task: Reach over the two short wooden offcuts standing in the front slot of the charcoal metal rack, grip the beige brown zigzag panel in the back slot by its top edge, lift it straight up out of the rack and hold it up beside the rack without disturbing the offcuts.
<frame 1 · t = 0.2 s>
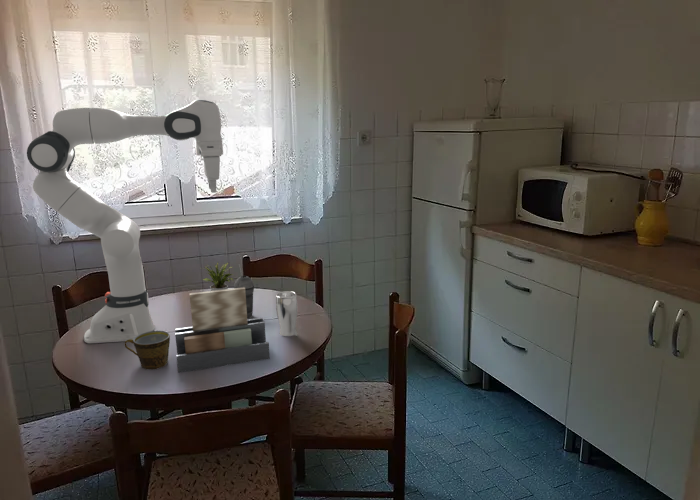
hand: (212, 190, 179), 47 cm above the table, tool pointing down, fingers open, 8 cm apart
sage offcut: (237, 356, 157), point 1 cm above the table, touching offcut rack
beige brown zigzag panel: (222, 353, 159), point 1 cm above the table, touching offcut rack
house plant: (217, 301, 210), on the table
beverage cup: (246, 317, 193), on the table
walnut offcut: (206, 364, 152), point 1 cm above the table, touching offcut rack
ceramic cup: (150, 369, 153), on the table
silver metal cylinder: (288, 337, 174), on the table
offcut rack: (223, 360, 158), on the table
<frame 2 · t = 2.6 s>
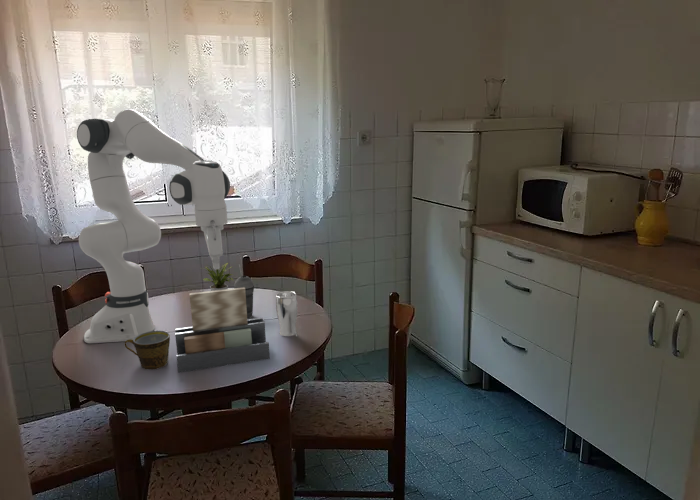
hand: (215, 264, 152), 30 cm above the table, tool pointing down, fingers open, 8 cm apart
nothing on the table moved.
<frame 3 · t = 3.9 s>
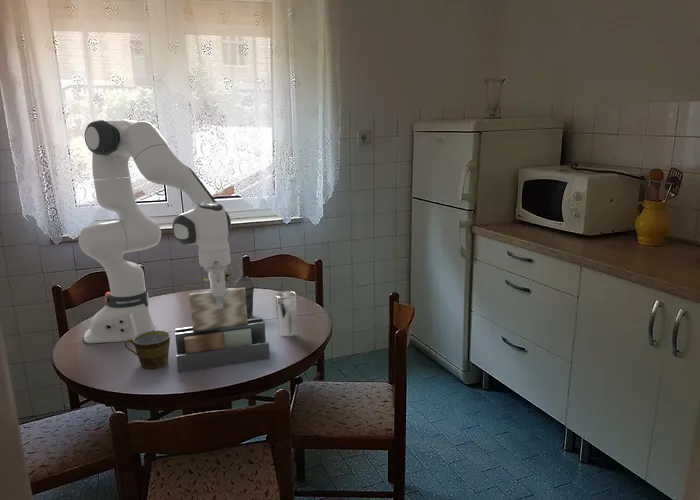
hand: (218, 302, 155), 18 cm above the table, tool pointing down, fingers open, 8 cm apart
nothing on the table moved.
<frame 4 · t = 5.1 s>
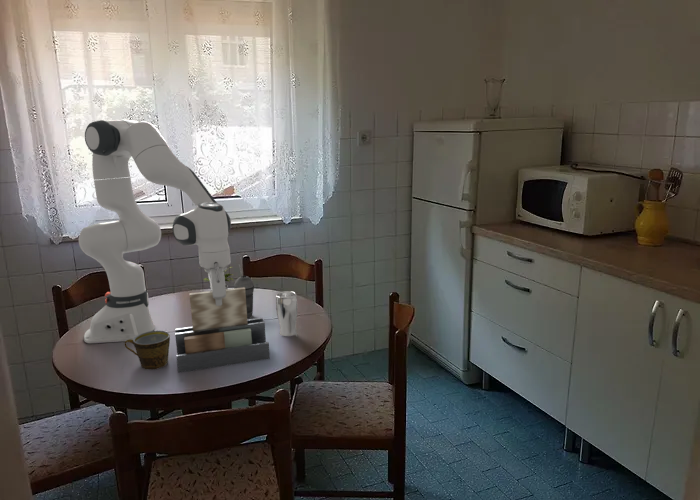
hand: (218, 303, 155), 18 cm above the table, tool pointing down, fingers closed on beige brown zigzag panel, 1 cm apart
beige brown zigzag panel: (222, 353, 159), point 1 cm above the table, touching gripper, offcut rack
everything else where it was.
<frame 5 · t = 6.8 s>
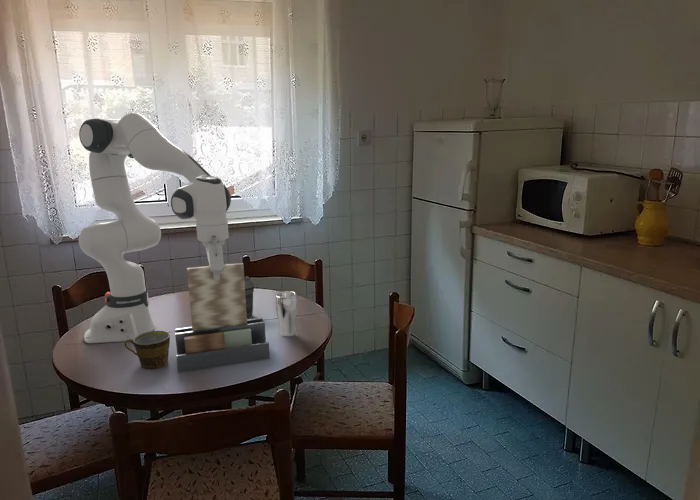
hand: (216, 278, 154), 25 cm above the table, tool pointing down, fingers closed on beige brown zigzag panel
beige brown zigzag panel: (220, 329, 158), point 9 cm above the table, touching gripper
everything else where it was.
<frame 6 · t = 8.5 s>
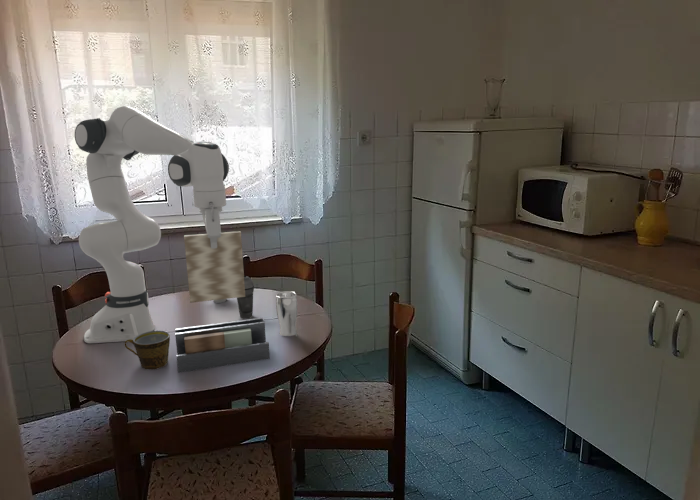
hand: (213, 246, 152), 35 cm above the table, tool pointing down, fingers closed on beige brown zigzag panel
beige brown zigzag panel: (217, 298, 156), point 19 cm above the table, touching gripper
everything else where it was.
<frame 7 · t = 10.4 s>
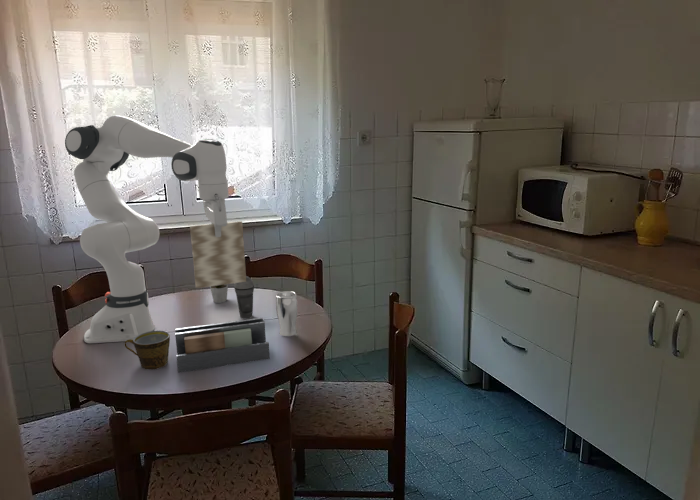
hand: (217, 235, 165), 35 cm above the table, tool pointing down, fingers closed on beige brown zigzag panel
beige brown zigzag panel: (221, 284, 169), point 19 cm above the table, touching gripper
everything else where it was.
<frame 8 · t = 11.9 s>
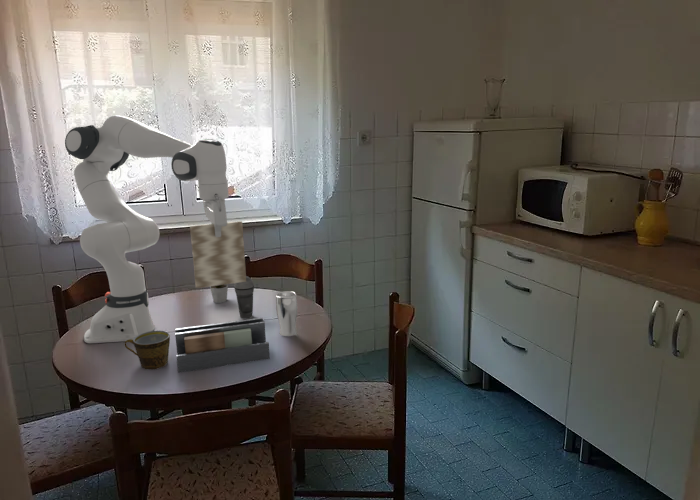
hand: (217, 235, 165), 35 cm above the table, tool pointing down, fingers closed on beige brown zigzag panel
beige brown zigzag panel: (221, 284, 169), point 19 cm above the table, touching gripper
everything else where it was.
at the end: beige brown zigzag panel inside the target area (0.0 cm from its centre), point 19.0 cm above the table; walnut offcut moved 0.1 cm from its start; sage offcut moved 0.1 cm from its start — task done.
